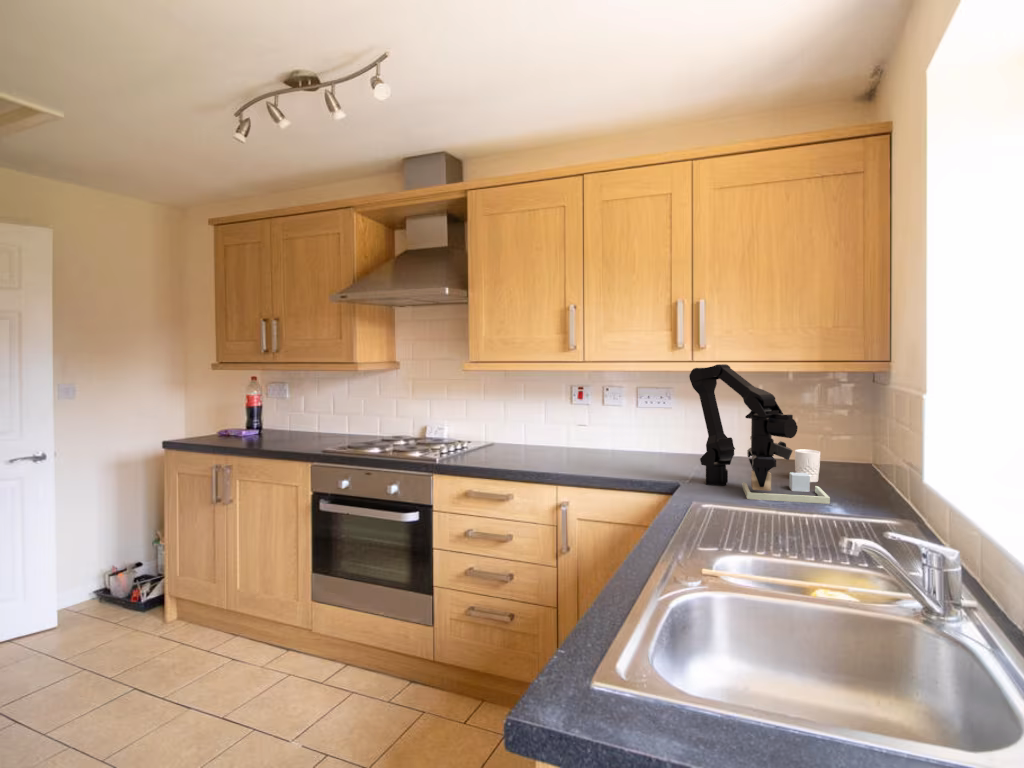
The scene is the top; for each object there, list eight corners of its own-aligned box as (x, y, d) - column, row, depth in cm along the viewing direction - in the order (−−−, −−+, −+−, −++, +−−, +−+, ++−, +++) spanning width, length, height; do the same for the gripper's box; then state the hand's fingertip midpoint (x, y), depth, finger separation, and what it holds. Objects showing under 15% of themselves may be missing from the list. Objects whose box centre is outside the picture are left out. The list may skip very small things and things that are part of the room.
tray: (747, 499, 172) (747, 493, 172) (742, 488, 186) (742, 482, 186) (829, 503, 166) (830, 497, 166) (818, 492, 180) (818, 486, 180)
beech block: (753, 489, 176) (753, 473, 176) (751, 486, 181) (751, 470, 180) (770, 490, 174) (771, 474, 174) (768, 487, 179) (768, 471, 179)
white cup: (812, 477, 201) (812, 449, 201) (825, 482, 194) (825, 452, 193) (789, 478, 201) (790, 449, 201) (801, 483, 193) (802, 453, 193)
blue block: (792, 491, 182) (792, 475, 182) (789, 487, 187) (789, 472, 187) (809, 492, 181) (809, 476, 181) (806, 488, 186) (806, 473, 185)
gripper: (795, 439, 165) (795, 493, 166) (785, 431, 183) (784, 480, 184) (753, 438, 169) (753, 491, 169) (747, 430, 186) (746, 478, 187)
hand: (760, 484), depth 177 cm, fingers closed on beech block, 5 cm apart
